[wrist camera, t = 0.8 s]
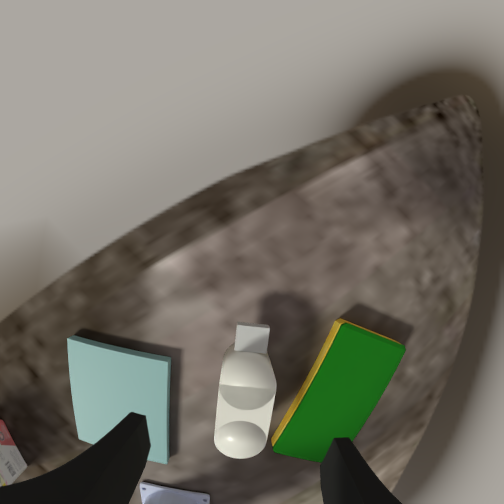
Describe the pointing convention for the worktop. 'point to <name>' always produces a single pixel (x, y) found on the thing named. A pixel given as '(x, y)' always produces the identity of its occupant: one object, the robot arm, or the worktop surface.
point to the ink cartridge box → (9, 458)
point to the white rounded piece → (245, 393)
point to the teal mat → (119, 391)
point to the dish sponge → (338, 391)
